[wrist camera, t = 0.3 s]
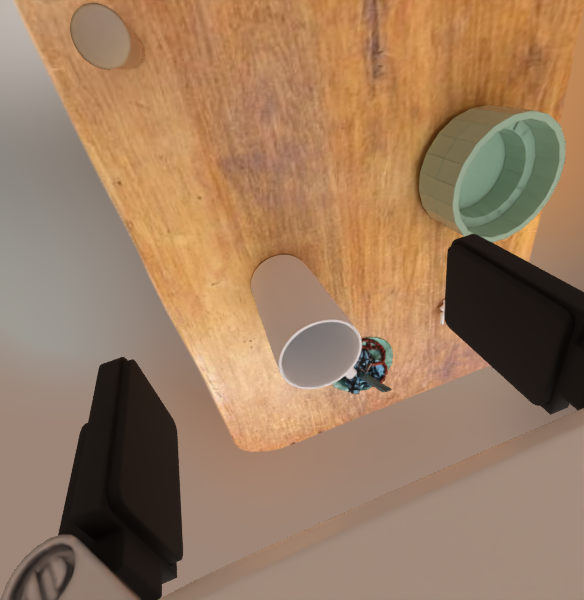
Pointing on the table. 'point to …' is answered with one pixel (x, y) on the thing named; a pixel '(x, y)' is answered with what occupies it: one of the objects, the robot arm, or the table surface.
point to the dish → (369, 367)
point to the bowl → (492, 170)
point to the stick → (105, 38)
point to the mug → (304, 324)
